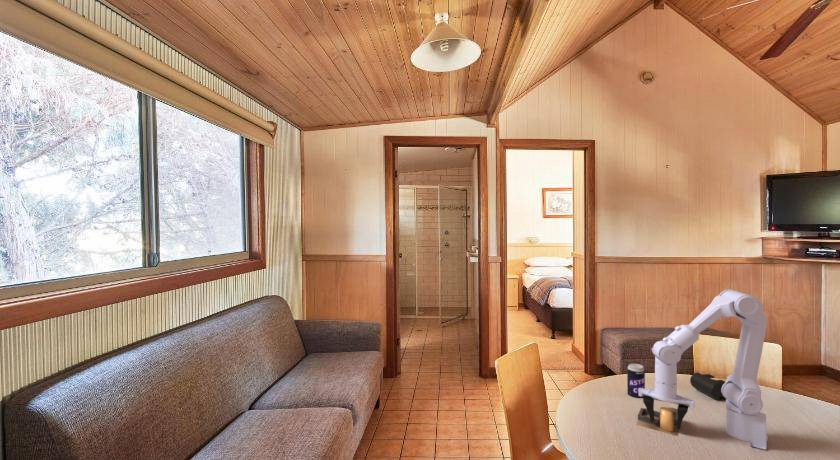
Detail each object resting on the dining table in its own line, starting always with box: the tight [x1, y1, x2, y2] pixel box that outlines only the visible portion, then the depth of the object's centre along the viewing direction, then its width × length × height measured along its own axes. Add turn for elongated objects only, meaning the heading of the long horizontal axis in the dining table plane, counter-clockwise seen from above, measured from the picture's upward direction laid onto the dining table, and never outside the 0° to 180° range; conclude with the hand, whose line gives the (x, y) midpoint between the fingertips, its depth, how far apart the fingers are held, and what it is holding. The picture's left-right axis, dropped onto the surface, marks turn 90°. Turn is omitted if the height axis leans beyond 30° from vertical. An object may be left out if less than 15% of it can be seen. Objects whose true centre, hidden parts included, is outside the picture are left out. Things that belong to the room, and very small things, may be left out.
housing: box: [636, 407, 679, 437], centre depth 125 cm, size 11×10×5 cm
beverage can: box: [626, 362, 646, 399], centre depth 145 cm, size 6×6×12 cm
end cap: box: [689, 372, 726, 402], centre depth 146 cm, size 10×7×7 cm
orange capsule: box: [659, 406, 674, 432], centre depth 121 cm, size 4×4×6 cm
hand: (665, 424), depth 121 cm, fingers open, 6 cm apart
